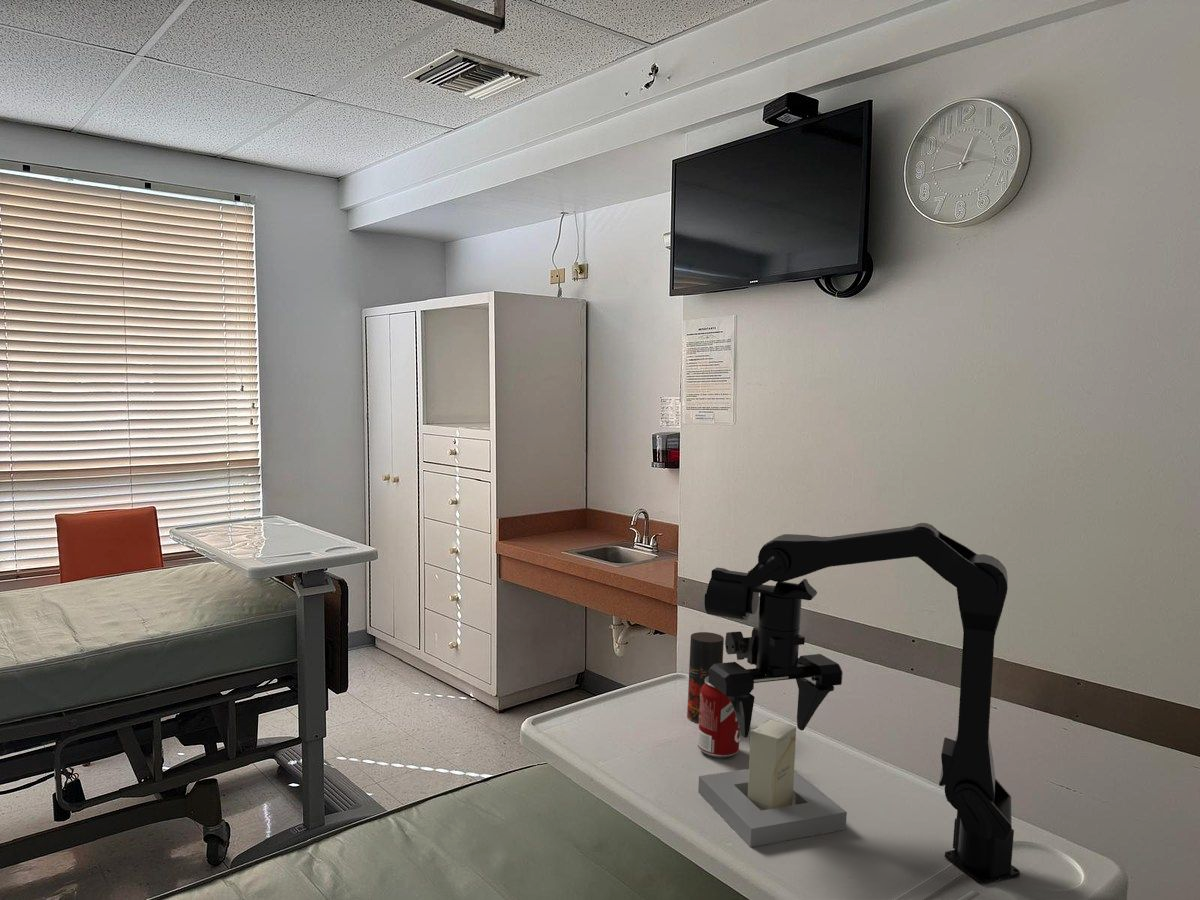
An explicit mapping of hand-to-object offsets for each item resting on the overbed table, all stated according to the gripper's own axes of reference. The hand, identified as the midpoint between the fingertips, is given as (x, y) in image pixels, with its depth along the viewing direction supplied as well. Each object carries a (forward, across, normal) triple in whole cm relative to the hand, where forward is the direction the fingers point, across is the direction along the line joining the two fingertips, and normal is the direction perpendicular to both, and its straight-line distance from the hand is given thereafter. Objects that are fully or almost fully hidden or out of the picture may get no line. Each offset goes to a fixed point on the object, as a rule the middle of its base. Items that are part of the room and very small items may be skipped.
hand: (772, 732), depth 116 cm
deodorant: (+12, -6, -32) cm, 35 cm away
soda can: (+12, -2, -19) cm, 22 cm away
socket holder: (+11, 0, 0) cm, 11 cm away
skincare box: (+12, 0, 0) cm, 12 cm away
